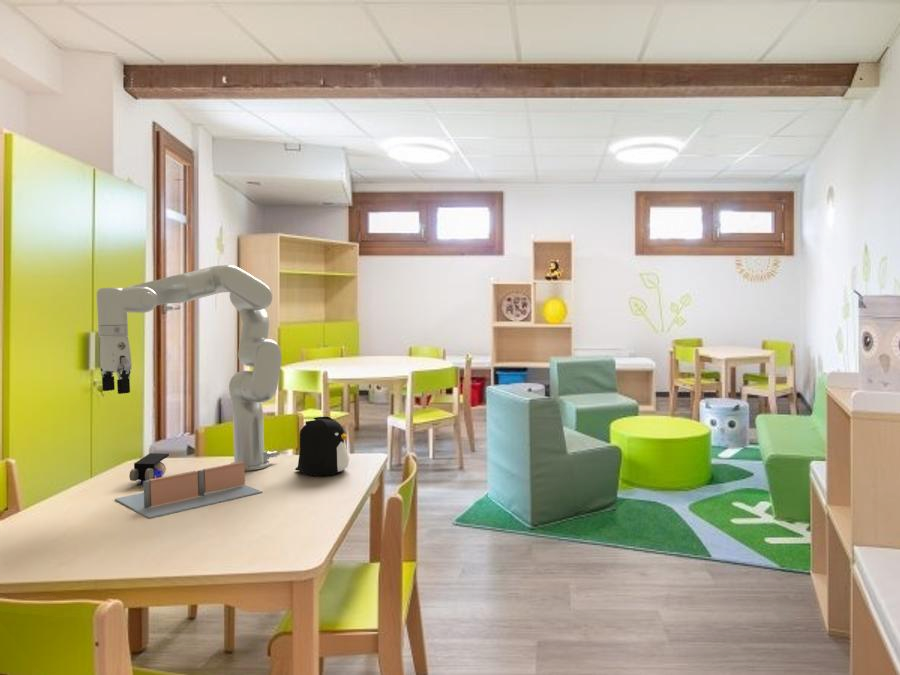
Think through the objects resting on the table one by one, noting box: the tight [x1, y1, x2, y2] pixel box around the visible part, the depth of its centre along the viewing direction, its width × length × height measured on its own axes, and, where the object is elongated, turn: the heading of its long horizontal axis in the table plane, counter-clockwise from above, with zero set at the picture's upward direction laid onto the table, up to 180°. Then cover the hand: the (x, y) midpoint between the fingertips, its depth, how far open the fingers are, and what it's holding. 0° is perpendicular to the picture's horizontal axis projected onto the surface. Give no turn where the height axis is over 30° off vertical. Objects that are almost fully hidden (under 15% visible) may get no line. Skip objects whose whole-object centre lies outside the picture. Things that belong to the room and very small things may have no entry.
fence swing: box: [202, 462, 246, 493], centre depth 204 cm, size 12×2×7 cm, turn 134°
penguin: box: [295, 416, 350, 477], centre depth 225 cm, size 18×18×17 cm
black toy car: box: [128, 452, 170, 487], centre depth 217 cm, size 7×8×15 cm
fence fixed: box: [142, 469, 204, 508], centre depth 194 cm, size 16×2×8 cm, turn 134°
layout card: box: [114, 484, 263, 519], centre depth 200 cm, size 32×24×1 cm
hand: (116, 391), depth 201 cm, fingers open, 9 cm apart
